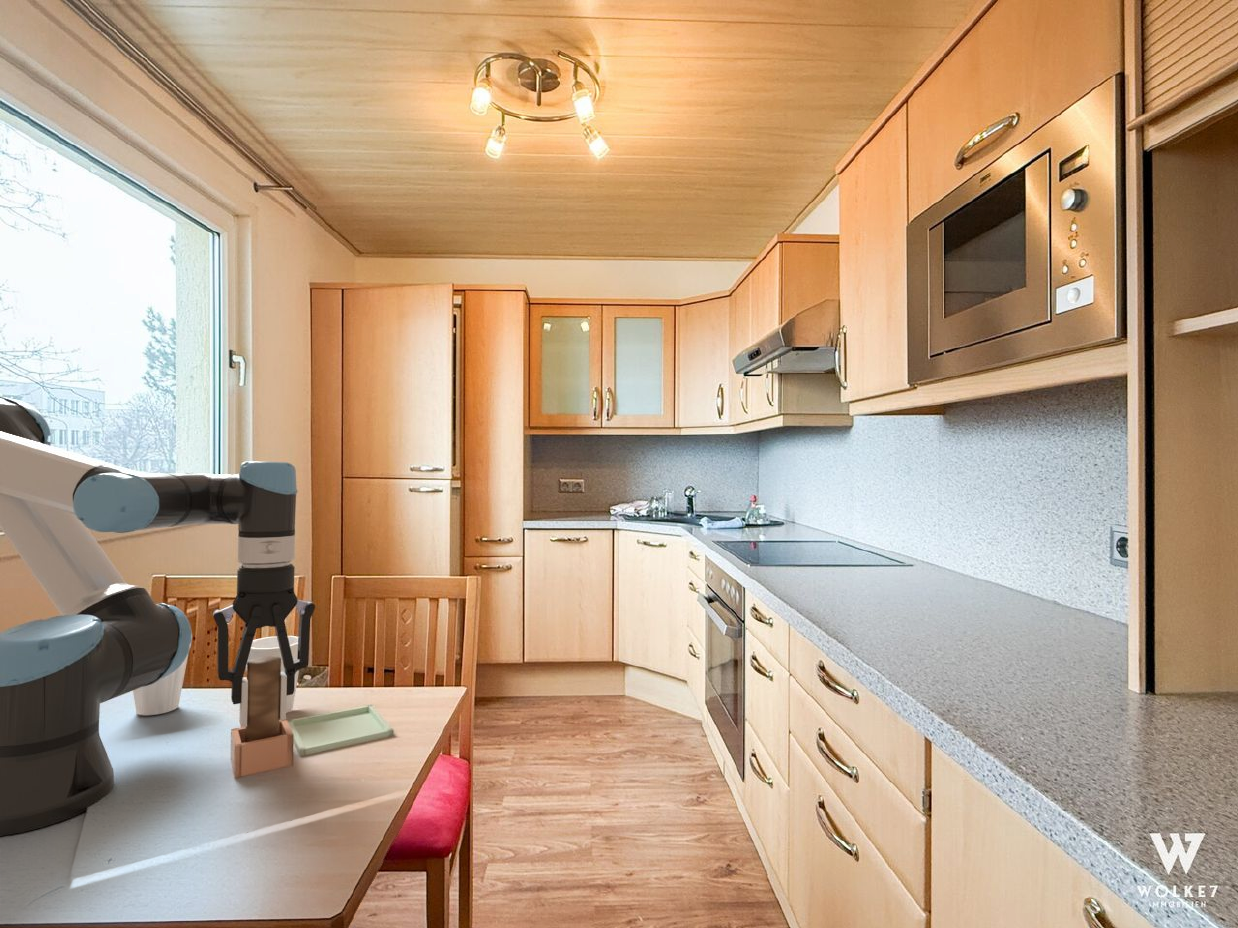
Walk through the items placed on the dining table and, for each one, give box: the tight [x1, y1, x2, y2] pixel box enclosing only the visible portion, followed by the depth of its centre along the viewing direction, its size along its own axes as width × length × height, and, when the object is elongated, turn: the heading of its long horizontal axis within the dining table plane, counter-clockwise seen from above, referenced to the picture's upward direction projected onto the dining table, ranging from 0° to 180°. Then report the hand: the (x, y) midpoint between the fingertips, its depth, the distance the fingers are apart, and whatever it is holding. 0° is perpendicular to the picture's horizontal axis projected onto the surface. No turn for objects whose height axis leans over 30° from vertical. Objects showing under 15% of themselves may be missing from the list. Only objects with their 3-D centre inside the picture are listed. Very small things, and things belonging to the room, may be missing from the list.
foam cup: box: [245, 635, 300, 714], centre depth 115 cm, size 10×9×13 cm
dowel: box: [245, 656, 281, 742], centre depth 94 cm, size 4×4×15 cm
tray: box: [287, 704, 395, 757], centre depth 106 cm, size 14×14×2 cm
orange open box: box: [230, 718, 294, 779], centre depth 94 cm, size 7×7×5 cm
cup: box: [132, 640, 193, 716], centre depth 115 cm, size 10×10×13 cm
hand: (262, 720), depth 94 cm, fingers closed on dowel, 4 cm apart
